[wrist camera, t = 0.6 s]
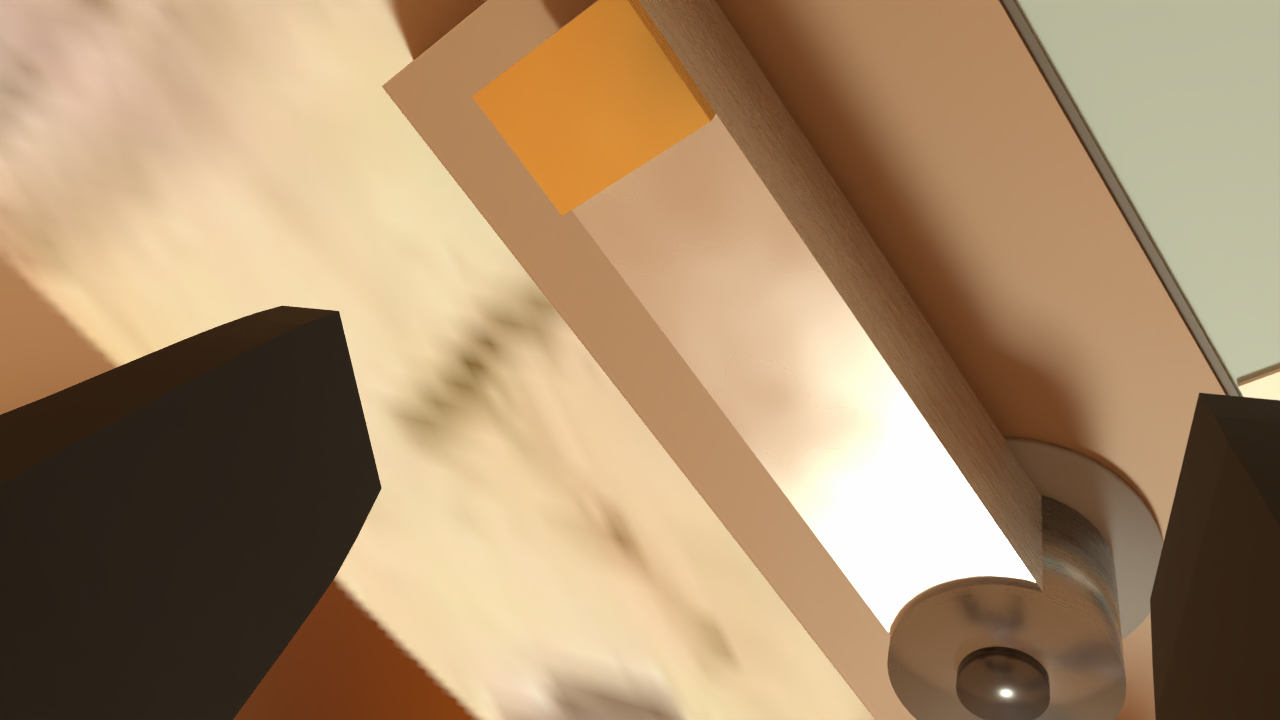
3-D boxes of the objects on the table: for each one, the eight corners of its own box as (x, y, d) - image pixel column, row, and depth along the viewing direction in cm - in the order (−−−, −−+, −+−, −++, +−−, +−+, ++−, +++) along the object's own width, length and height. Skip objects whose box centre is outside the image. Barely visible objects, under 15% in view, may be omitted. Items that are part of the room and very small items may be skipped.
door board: (2093, 464, 15) (2313, 628, 13) (928, 738, 24) (917, 864, 22) (1681, -967, 10) (1907, -1185, 8) (413, 65, 19) (319, 127, 17)
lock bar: (1152, 612, 19) (1170, 745, 17) (964, 663, 21) (955, 789, 19) (703, -82, 15) (644, -35, 13) (521, 57, 17) (440, 120, 15)
